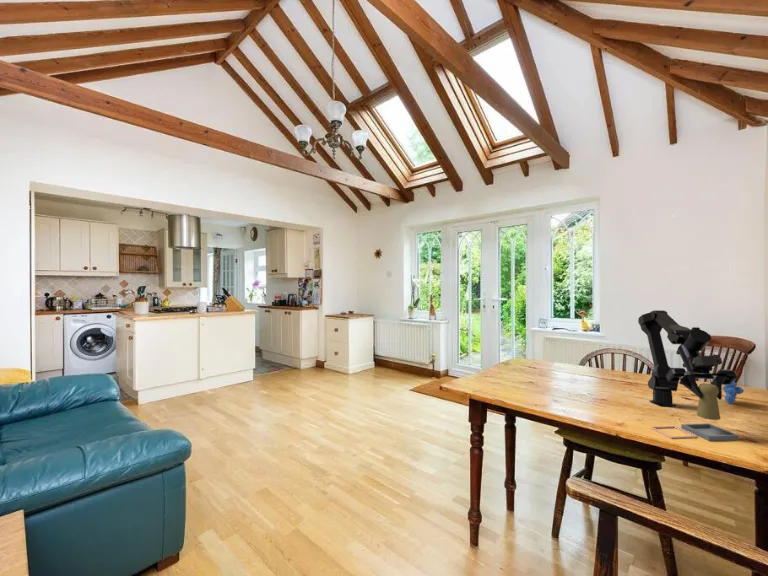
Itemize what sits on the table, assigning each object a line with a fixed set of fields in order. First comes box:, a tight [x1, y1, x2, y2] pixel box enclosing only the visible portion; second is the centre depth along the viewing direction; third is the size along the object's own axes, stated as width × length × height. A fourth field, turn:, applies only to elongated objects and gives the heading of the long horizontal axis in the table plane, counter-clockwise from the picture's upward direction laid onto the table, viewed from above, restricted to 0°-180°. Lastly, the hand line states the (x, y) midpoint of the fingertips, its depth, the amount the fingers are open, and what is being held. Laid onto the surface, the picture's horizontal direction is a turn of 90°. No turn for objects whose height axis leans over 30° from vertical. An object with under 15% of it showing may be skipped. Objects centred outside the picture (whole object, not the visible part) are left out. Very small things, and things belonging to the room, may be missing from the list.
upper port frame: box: [649, 425, 698, 439], centre depth 124 cm, size 9×9×1 cm
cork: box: [696, 382, 721, 421], centre depth 123 cm, size 6×6×11 cm
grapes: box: [722, 378, 745, 404], centre depth 152 cm, size 12×7×12 cm, turn 142°
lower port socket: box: [680, 422, 740, 442], centre depth 123 cm, size 10×10×2 cm
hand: (711, 398), depth 122 cm, fingers closed on cork, 5 cm apart
